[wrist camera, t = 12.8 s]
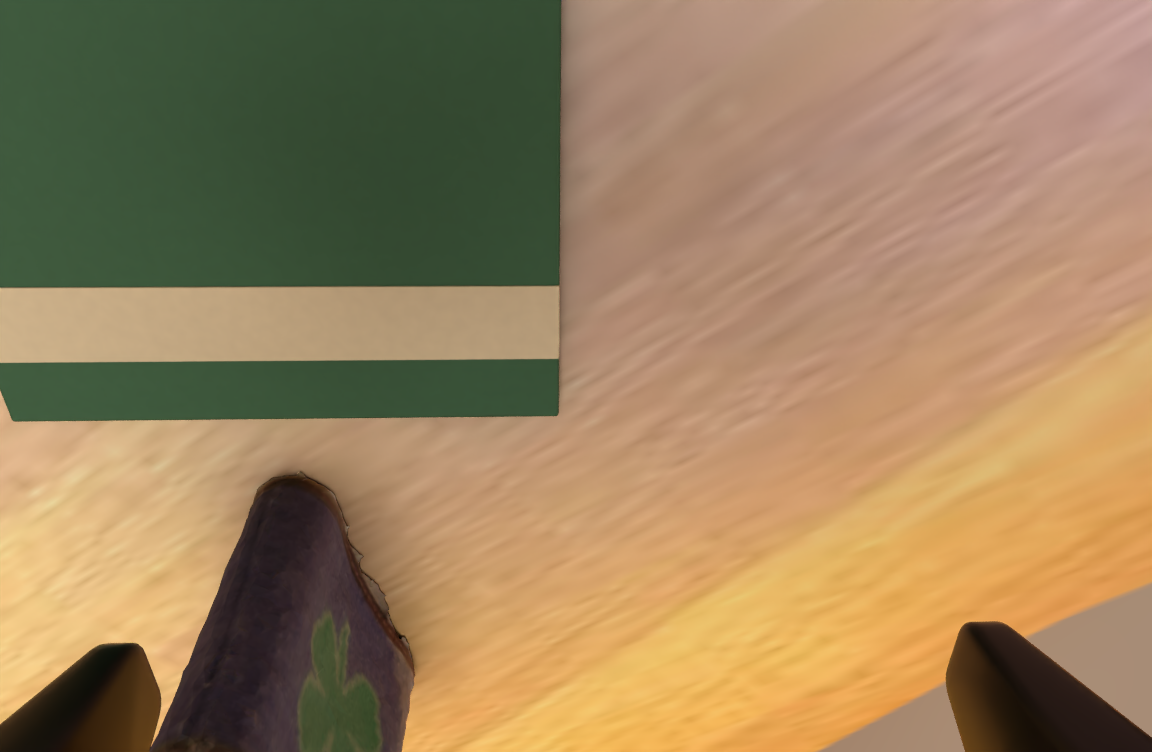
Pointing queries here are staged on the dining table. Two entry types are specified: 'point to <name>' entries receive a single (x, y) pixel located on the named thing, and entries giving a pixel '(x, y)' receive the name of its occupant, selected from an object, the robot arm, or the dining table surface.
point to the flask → (293, 642)
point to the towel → (279, 209)
